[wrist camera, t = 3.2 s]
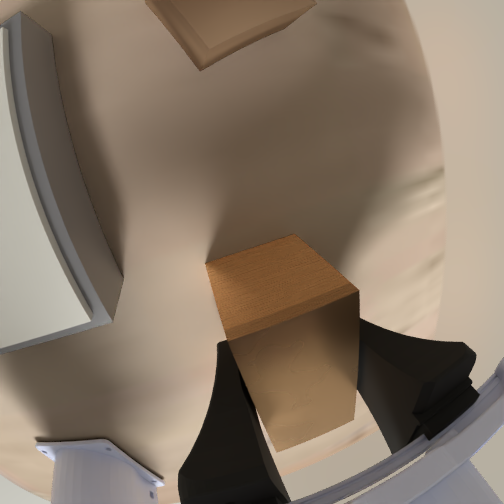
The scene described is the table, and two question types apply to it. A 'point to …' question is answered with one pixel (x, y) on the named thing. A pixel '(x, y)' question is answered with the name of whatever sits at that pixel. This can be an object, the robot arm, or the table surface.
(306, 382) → the block
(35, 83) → the stand
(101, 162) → the table surface
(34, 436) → the table surface
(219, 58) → the walnut block
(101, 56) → the table surface
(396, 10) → the table surface
